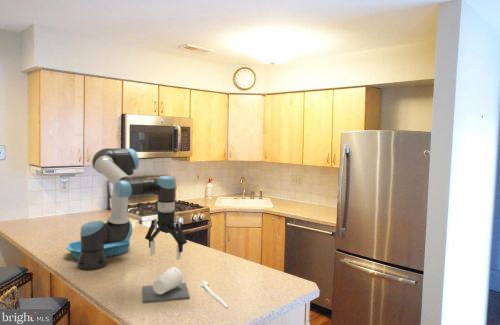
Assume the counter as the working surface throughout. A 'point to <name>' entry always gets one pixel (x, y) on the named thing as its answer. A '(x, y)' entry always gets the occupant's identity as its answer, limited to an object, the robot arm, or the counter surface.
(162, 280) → the foam cup
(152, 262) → the counter surface
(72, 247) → the casserole dish
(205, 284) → the white long knobbed rod
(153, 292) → the mat
